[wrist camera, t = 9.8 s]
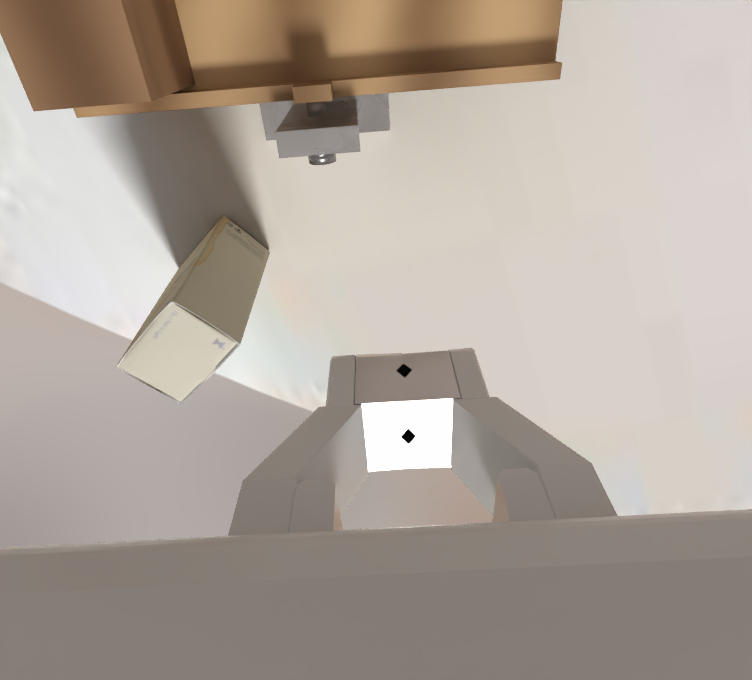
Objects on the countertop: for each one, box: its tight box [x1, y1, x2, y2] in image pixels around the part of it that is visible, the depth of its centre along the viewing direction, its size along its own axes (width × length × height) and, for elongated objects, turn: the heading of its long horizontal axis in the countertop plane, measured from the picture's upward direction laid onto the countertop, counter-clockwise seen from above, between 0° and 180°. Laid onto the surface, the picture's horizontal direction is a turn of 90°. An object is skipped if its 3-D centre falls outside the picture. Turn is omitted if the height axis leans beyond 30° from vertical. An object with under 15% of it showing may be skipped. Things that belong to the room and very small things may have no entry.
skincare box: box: [117, 216, 270, 404], centre depth 32 cm, size 6×4×12 cm
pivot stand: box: [260, 93, 390, 165], centre depth 24 cm, size 8×13×9 cm, turn 4°
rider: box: [0, 0, 195, 111], centre depth 20 cm, size 5×5×6 cm
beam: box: [73, 0, 563, 118], centre depth 23 cm, size 24×8×6 cm, turn 94°
